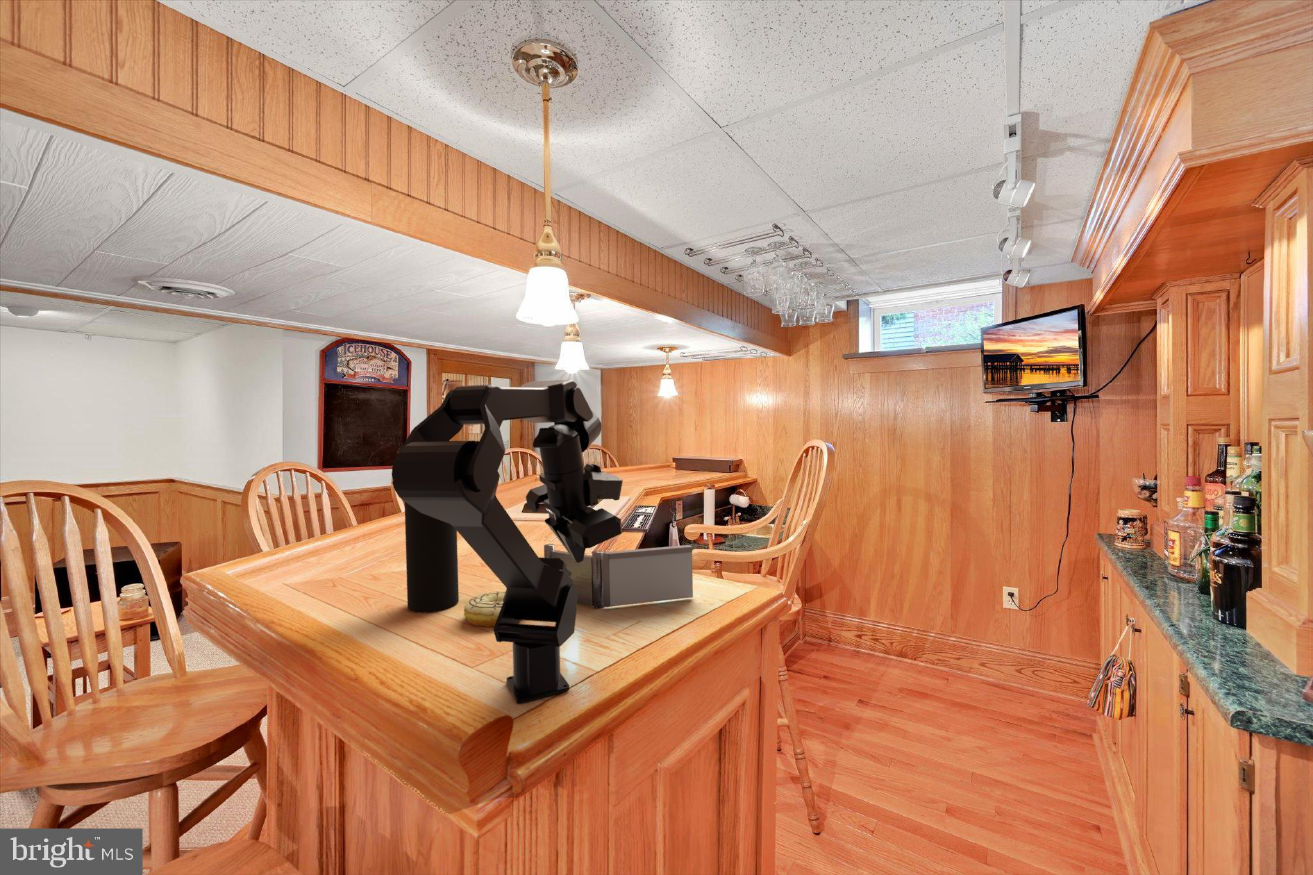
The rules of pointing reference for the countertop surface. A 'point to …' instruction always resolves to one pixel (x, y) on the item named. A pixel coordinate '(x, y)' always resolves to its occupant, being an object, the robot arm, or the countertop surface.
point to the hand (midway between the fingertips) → (579, 561)
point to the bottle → (430, 562)
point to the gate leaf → (647, 575)
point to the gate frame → (583, 575)
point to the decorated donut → (484, 609)
